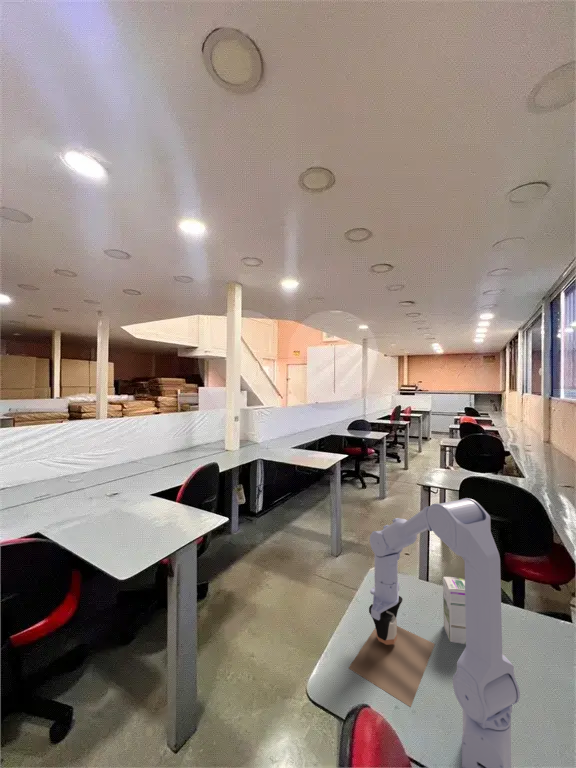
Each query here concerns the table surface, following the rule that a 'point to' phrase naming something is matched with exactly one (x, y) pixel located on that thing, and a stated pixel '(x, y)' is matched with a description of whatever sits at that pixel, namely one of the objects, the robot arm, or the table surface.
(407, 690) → the pin board
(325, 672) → the table surface
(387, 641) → the sleeve
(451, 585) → the syrup box
